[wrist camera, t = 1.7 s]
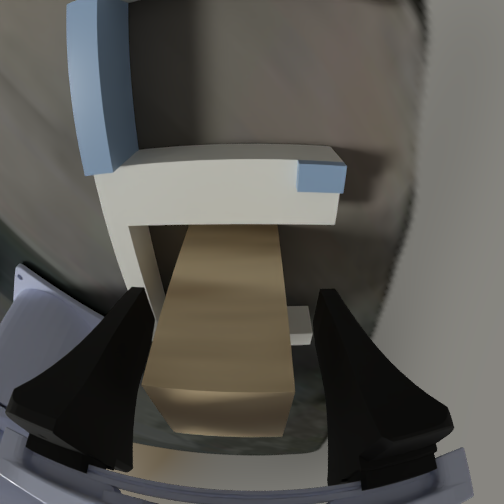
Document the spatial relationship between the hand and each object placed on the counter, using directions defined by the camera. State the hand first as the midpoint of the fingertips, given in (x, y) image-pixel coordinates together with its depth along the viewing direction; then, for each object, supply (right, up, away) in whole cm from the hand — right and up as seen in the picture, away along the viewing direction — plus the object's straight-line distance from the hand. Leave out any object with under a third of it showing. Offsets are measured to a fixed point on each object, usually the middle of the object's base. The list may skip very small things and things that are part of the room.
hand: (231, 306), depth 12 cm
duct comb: (0, +5, 0) cm, 5 cm away
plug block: (0, +2, +3) cm, 3 cm away
